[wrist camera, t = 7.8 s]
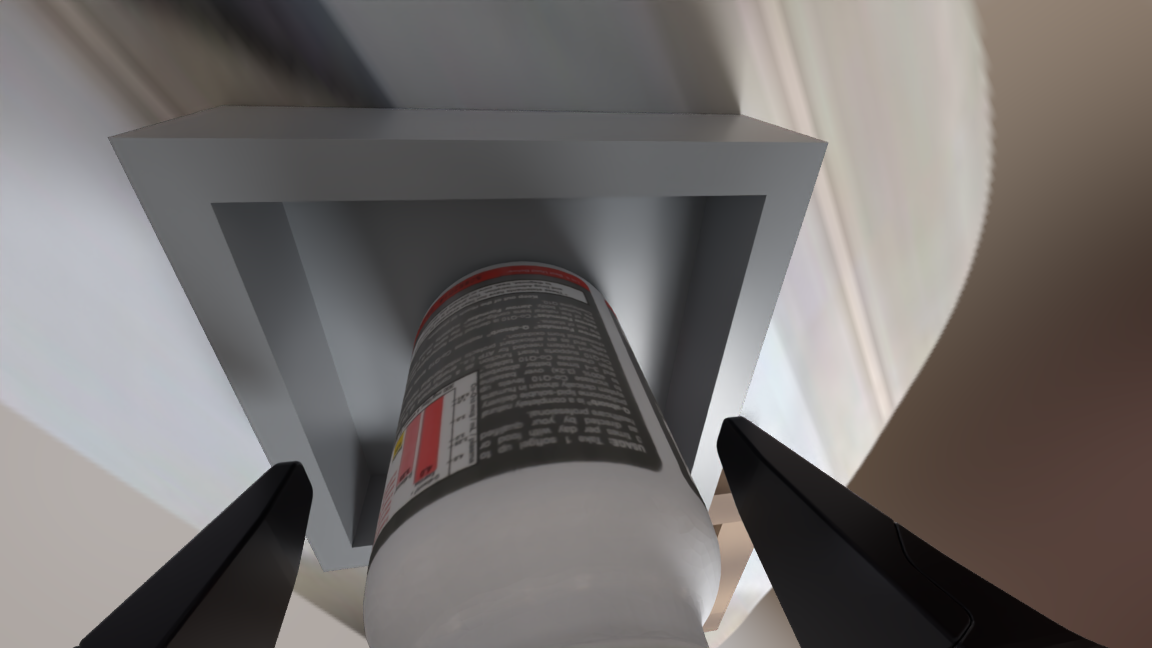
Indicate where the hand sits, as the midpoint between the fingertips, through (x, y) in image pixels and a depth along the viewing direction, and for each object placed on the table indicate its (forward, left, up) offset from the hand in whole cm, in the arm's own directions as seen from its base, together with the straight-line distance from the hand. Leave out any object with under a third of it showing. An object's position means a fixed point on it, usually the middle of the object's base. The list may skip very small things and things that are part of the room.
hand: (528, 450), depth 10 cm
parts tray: (0, 0, -5) cm, 5 cm away
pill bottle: (0, 0, -4) cm, 4 cm away
